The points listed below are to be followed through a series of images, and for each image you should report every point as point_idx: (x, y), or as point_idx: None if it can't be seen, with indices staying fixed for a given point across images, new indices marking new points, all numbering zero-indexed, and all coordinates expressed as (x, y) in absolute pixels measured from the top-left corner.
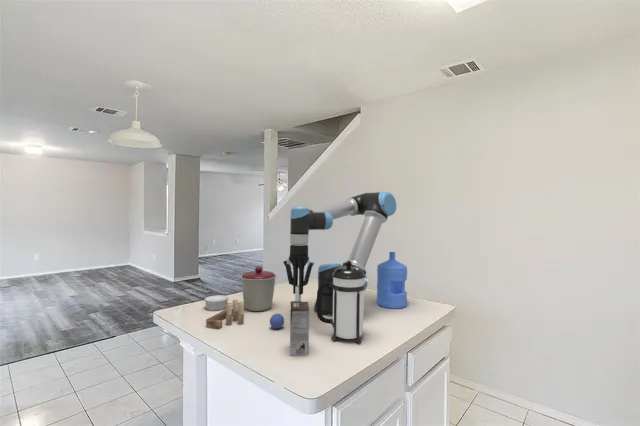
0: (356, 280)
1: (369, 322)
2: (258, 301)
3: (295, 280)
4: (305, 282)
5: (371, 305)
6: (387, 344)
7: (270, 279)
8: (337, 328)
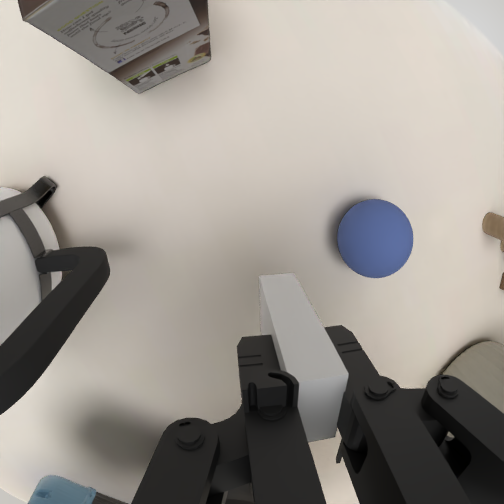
0: None
1: (40, 402)
2: (484, 367)
3: (389, 452)
4: (168, 463)
5: None
6: None
7: None
8: (3, 197)
